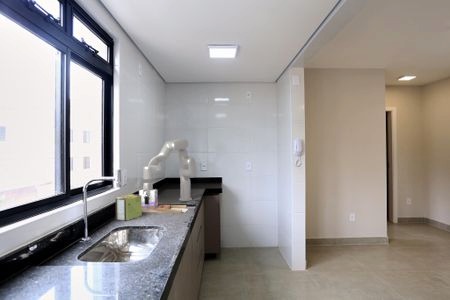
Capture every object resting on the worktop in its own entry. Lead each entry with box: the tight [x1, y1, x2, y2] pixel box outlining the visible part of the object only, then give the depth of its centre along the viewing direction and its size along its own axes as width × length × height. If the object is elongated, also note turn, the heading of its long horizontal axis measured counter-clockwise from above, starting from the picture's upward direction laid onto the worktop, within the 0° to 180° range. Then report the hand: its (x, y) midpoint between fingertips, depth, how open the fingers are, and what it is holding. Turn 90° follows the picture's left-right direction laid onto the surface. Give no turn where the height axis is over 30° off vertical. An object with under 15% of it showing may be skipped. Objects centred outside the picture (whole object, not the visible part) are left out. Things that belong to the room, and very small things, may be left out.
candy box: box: [138, 188, 159, 209], centre depth 210 cm, size 14×6×16 cm, turn 84°
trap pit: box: [157, 204, 171, 209], centre depth 208 cm, size 11×7×3 cm, turn 173°
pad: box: [170, 208, 189, 214], centre depth 207 cm, size 11×15×1 cm
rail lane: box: [142, 204, 188, 214], centre depth 209 cm, size 15×38×2 cm, turn 83°
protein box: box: [115, 194, 143, 222], centre depth 187 cm, size 10×15×16 cm
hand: (148, 202), depth 210 cm, fingers closed on candy box, 5 cm apart
